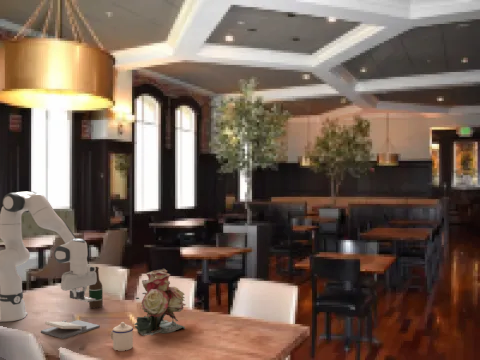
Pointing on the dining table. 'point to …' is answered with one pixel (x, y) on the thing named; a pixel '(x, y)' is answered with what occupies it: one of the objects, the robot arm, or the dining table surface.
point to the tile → (64, 325)
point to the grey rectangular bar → (81, 296)
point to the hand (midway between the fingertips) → (79, 295)
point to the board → (70, 332)
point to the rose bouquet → (159, 304)
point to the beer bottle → (96, 292)
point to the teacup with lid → (122, 337)
